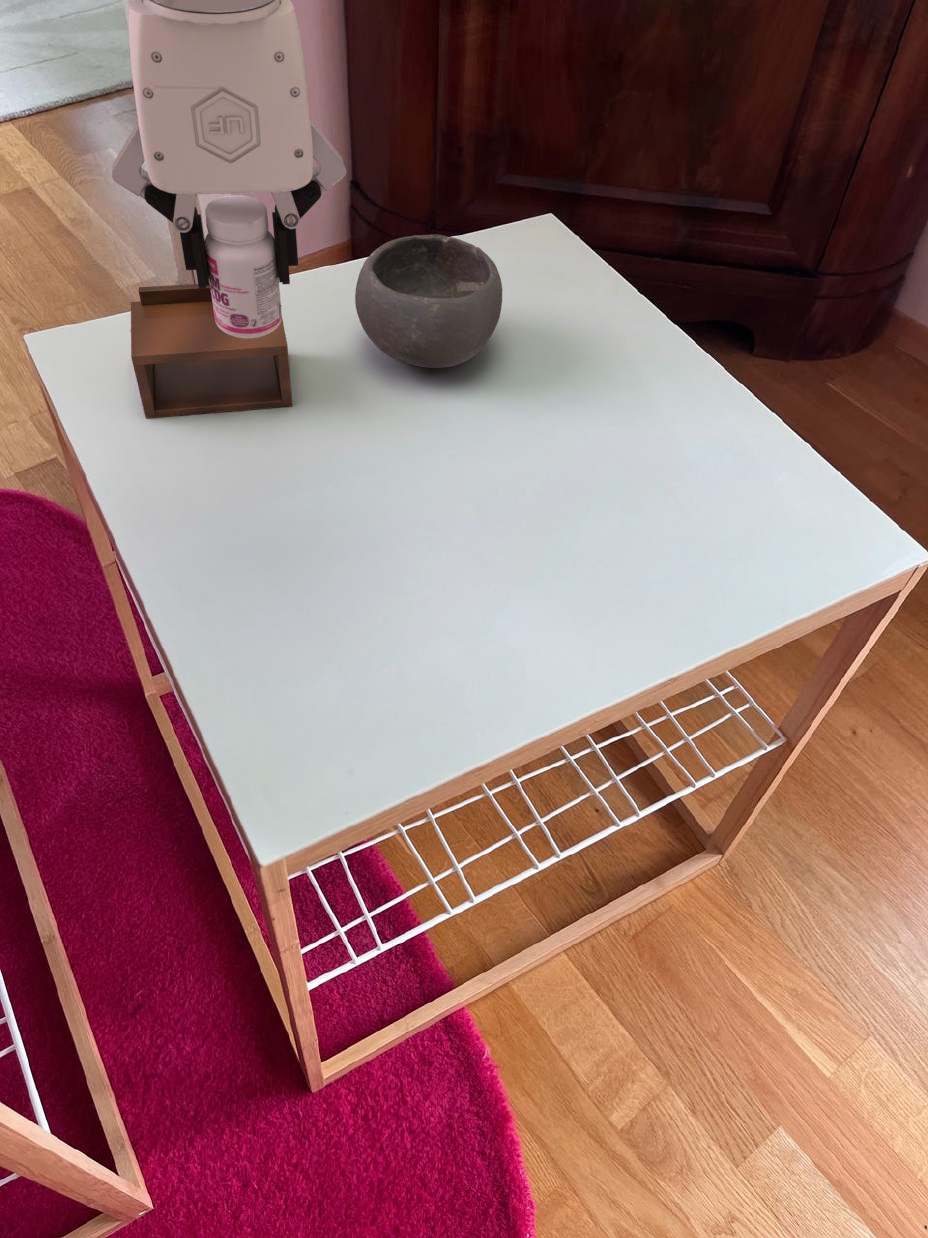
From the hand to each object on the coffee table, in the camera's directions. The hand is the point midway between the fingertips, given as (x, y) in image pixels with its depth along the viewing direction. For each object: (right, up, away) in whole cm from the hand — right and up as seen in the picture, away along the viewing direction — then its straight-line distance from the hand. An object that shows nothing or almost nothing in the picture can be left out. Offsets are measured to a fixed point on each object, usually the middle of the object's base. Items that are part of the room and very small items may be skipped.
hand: (243, 273), depth 66 cm
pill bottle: (0, -3, +3) cm, 4 cm away
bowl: (+11, +4, +36) cm, 38 cm away
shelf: (-9, -1, +29) cm, 31 cm away
